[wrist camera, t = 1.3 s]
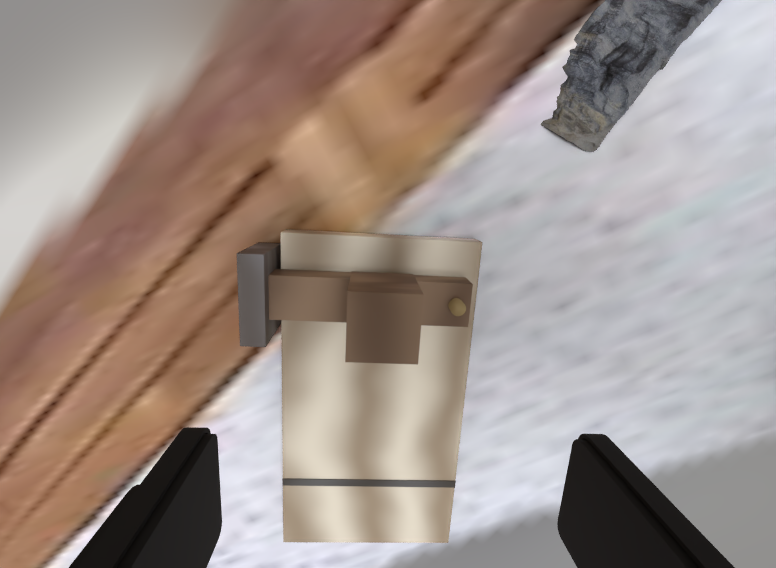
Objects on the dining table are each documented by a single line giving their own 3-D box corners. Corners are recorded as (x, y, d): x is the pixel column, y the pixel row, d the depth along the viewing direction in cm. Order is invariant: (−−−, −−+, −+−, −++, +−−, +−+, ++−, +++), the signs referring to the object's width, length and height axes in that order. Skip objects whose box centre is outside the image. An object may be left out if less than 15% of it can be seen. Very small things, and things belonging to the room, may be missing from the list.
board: (474, 238, 29) (482, 242, 27) (443, 523, 36) (448, 543, 33) (286, 229, 28) (280, 232, 26) (288, 522, 35) (283, 543, 33)
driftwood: (576, 166, 29) (592, 164, 27) (511, 103, 28) (523, 96, 26) (792, -82, 26) (829, -105, 24) (731, -165, 25) (764, -197, 23)
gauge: (461, 252, 29) (500, 279, 20) (454, 328, 30) (487, 382, 22) (258, 242, 28) (210, 266, 20) (260, 321, 30) (216, 375, 21)
